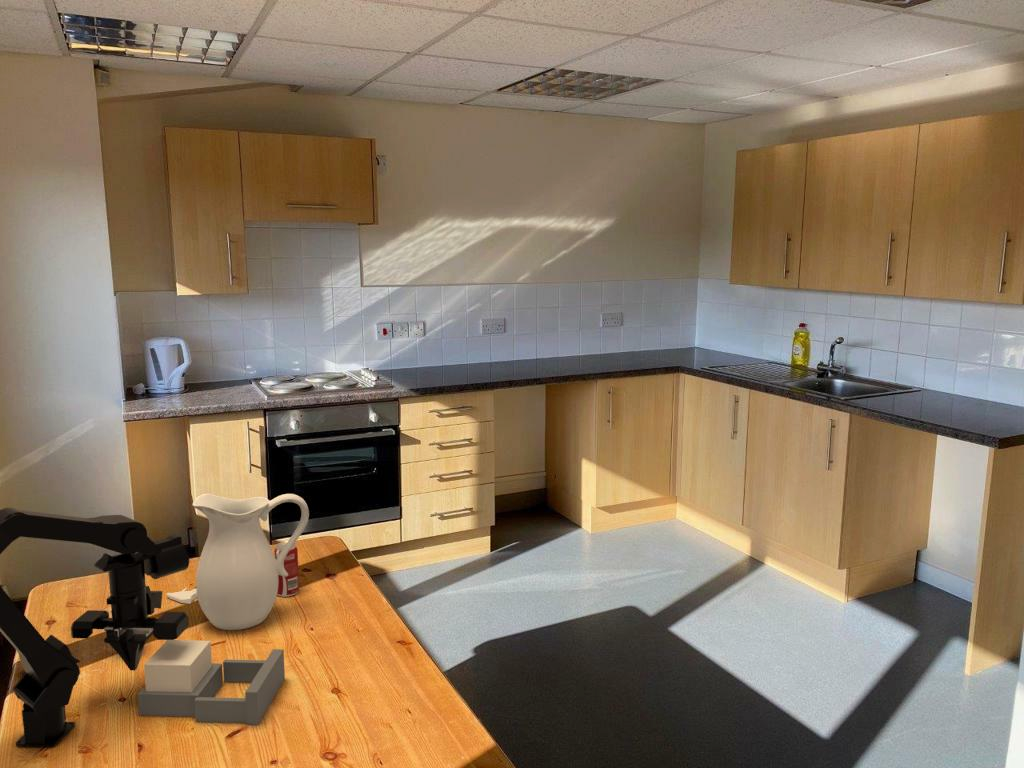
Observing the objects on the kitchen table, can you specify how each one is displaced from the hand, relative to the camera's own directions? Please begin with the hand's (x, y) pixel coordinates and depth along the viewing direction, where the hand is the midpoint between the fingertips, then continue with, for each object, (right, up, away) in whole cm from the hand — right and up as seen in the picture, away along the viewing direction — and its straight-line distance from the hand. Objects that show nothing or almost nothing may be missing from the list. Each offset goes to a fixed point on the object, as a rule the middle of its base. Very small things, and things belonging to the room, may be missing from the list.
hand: (133, 669), depth 146 cm
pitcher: (+12, 0, +33) cm, 35 cm away
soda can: (+15, +2, +46) cm, 48 cm away
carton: (+8, -2, 0) cm, 8 cm away
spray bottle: (-2, +2, +51) cm, 51 cm away
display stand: (+14, -6, +1) cm, 15 cm away
